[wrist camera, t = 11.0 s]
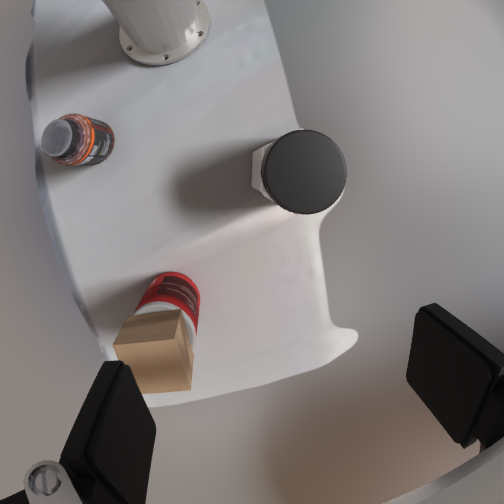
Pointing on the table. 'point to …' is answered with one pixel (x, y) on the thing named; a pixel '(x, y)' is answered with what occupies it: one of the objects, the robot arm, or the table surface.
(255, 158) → the jar
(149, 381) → the walnut cube
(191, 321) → the canned food
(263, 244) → the table surface
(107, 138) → the supplement bottle
